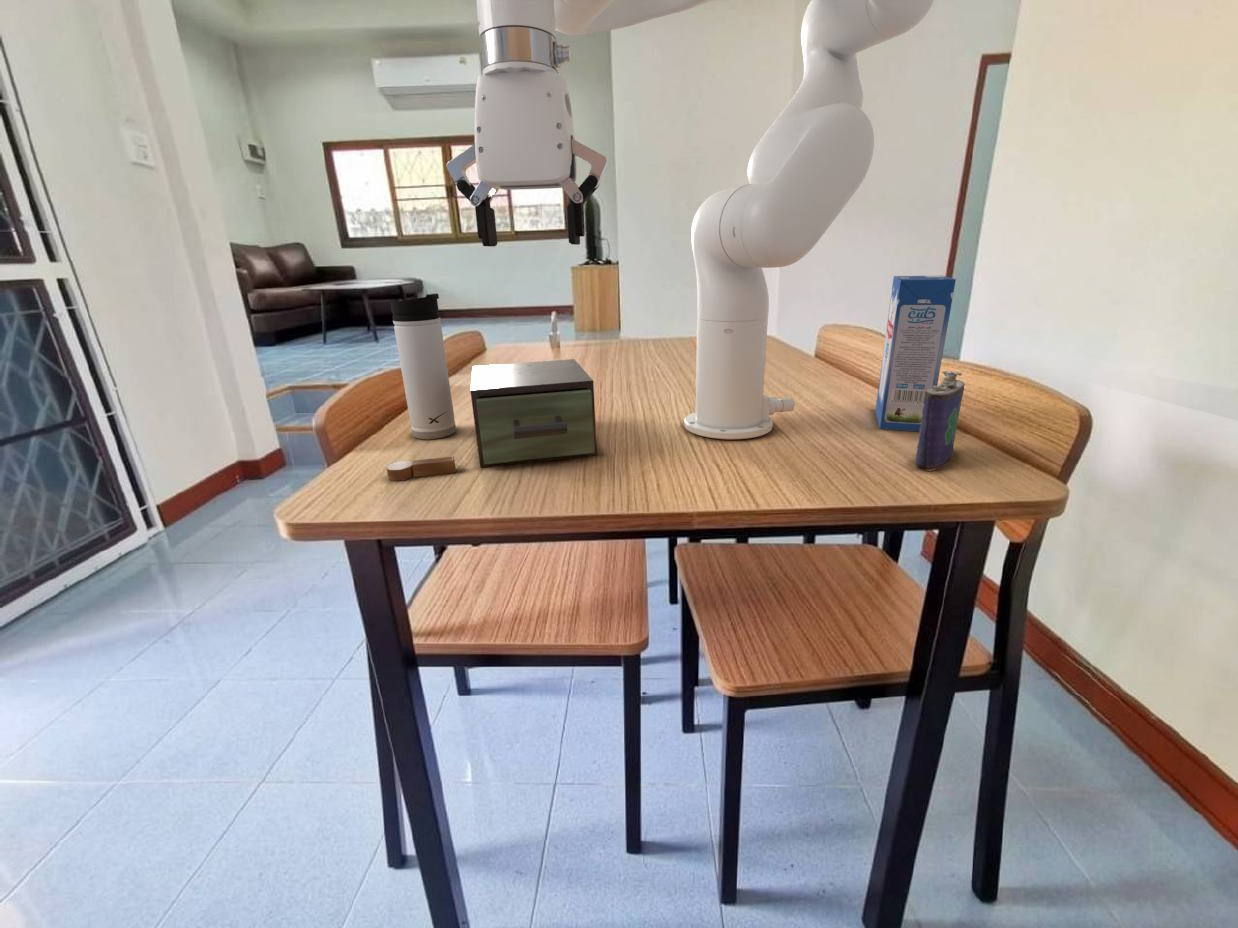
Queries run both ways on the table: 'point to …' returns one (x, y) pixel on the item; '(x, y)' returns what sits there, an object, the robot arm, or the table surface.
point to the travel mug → (424, 366)
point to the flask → (939, 423)
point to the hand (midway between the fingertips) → (532, 245)
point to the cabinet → (528, 389)
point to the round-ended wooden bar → (420, 468)
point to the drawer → (536, 425)
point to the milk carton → (912, 348)
